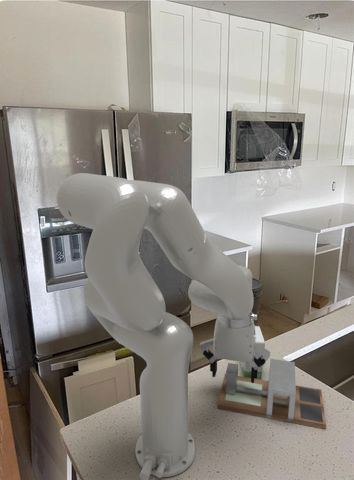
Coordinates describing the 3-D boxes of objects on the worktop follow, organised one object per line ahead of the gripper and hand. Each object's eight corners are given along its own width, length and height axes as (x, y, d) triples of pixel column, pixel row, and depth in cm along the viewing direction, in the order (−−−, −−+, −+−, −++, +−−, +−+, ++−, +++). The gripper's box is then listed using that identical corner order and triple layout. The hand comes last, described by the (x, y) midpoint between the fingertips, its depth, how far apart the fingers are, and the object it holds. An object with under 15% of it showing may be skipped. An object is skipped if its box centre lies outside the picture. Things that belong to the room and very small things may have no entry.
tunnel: (293, 422, 85) (295, 393, 82) (266, 417, 86) (268, 389, 84) (292, 388, 96) (294, 362, 93) (268, 384, 97) (270, 358, 95)
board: (325, 429, 83) (326, 424, 82) (217, 408, 89) (217, 404, 89) (320, 393, 94) (321, 389, 93) (224, 377, 100) (225, 373, 100)
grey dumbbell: (292, 407, 87) (294, 386, 85) (224, 395, 91) (225, 375, 89) (291, 391, 92) (293, 370, 91) (228, 380, 97) (228, 360, 95)
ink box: (239, 361, 107) (240, 324, 104) (257, 361, 107) (259, 325, 104) (243, 380, 99) (245, 341, 96) (263, 380, 99) (265, 341, 95)
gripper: (272, 312, 89) (269, 372, 94) (202, 305, 93) (202, 362, 99) (271, 329, 82) (267, 392, 87) (195, 320, 87) (196, 380, 92)
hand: (233, 376), depth 93 cm, fingers open, 9 cm apart
